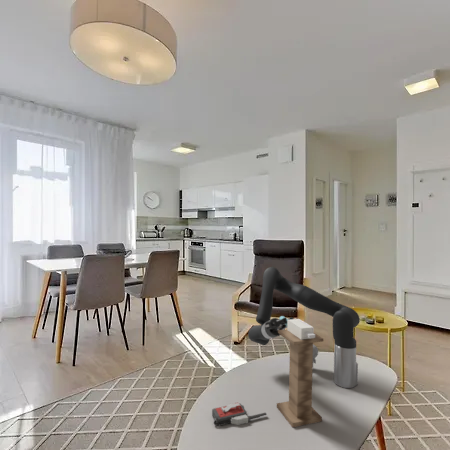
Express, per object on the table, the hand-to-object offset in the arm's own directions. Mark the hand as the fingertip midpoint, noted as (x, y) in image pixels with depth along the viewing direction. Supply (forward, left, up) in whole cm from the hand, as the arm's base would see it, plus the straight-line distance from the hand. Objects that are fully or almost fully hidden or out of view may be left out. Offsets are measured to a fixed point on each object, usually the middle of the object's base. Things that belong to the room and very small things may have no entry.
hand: (289, 320), depth 121 cm
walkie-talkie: (+22, +3, -34) cm, 40 cm away
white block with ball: (0, +4, -3) cm, 5 cm away
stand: (0, +8, -33) cm, 34 cm away
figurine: (-24, -22, -33) cm, 46 cm away
